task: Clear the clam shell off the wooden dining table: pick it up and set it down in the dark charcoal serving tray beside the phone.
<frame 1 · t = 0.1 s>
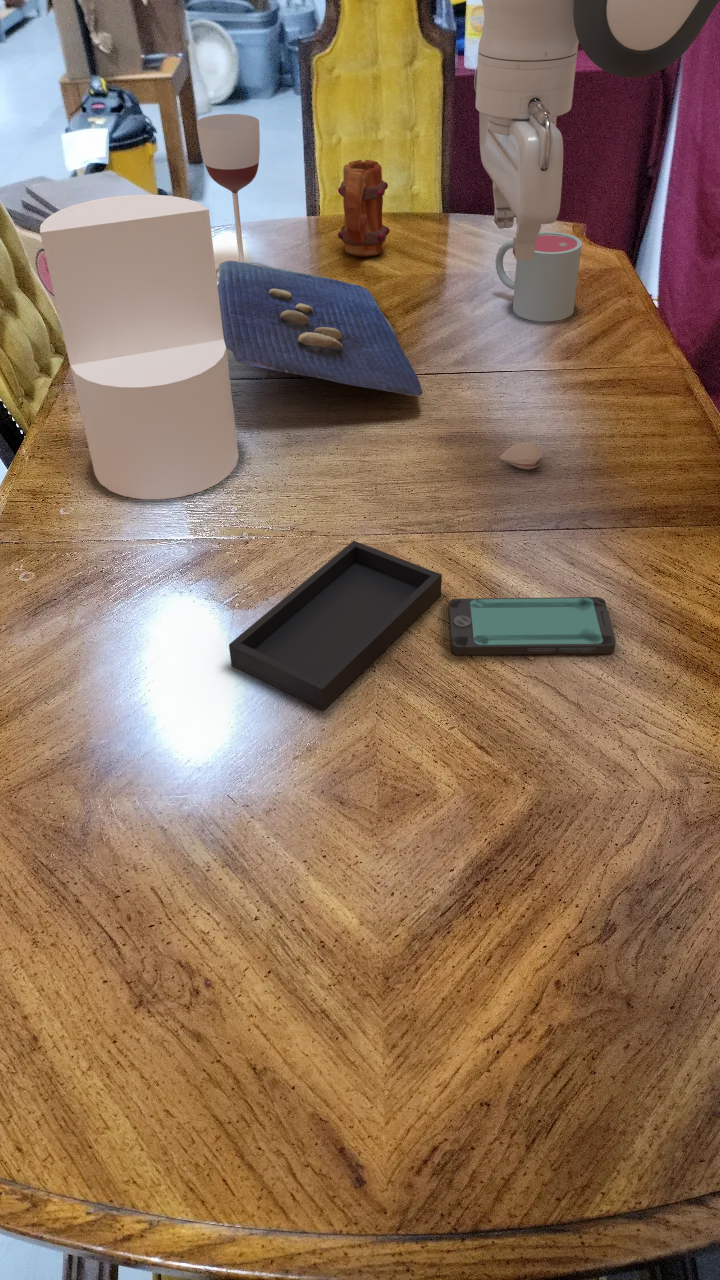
hand: (512, 241, 100), 26 cm above the table, tool pointing down, fingers open, 8 cm apart
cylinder: (167, 462, 120), on the table
mug 2: (530, 306, 153), on the table
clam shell: (519, 466, 117), on the table
tray: (340, 629, 95), on the table
mat: (303, 354, 142), on the table
mug: (361, 259, 170), on the table
smartphone: (529, 632, 94), on the table
wineglass: (242, 274, 166), on the table
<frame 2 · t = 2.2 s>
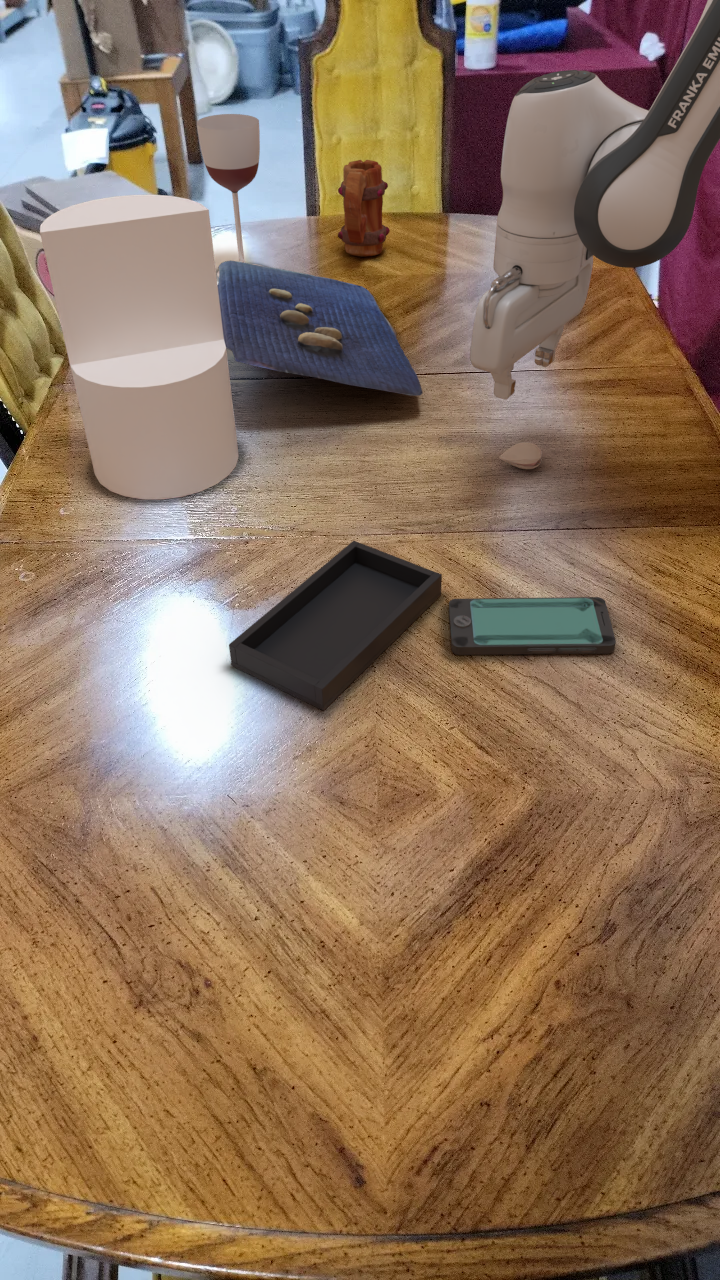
hand: (524, 379, 110), 11 cm above the table, tool pointing down, fingers open, 8 cm apart
nothing on the table moved.
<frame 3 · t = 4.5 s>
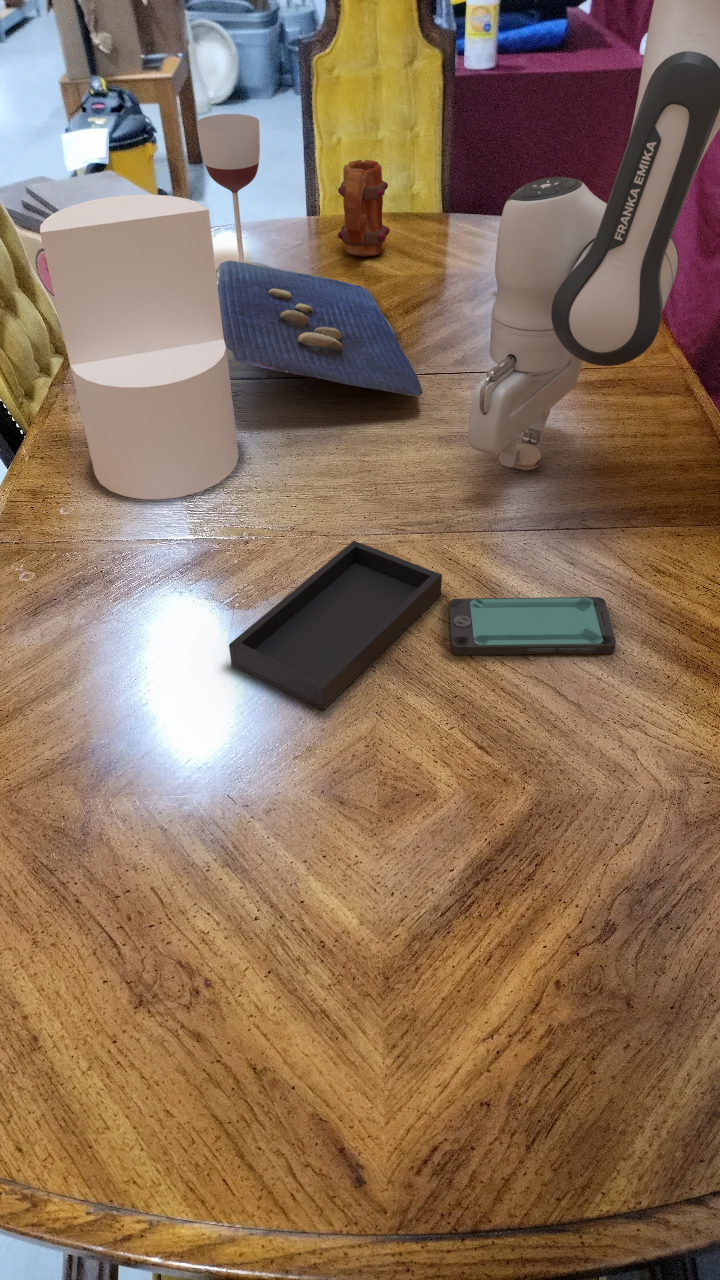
hand: (520, 453, 116), 2 cm above the table, tool pointing down, fingers closed on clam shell, 4 cm apart
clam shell: (517, 467, 117), on the table, touching gripper
everything else where it was.
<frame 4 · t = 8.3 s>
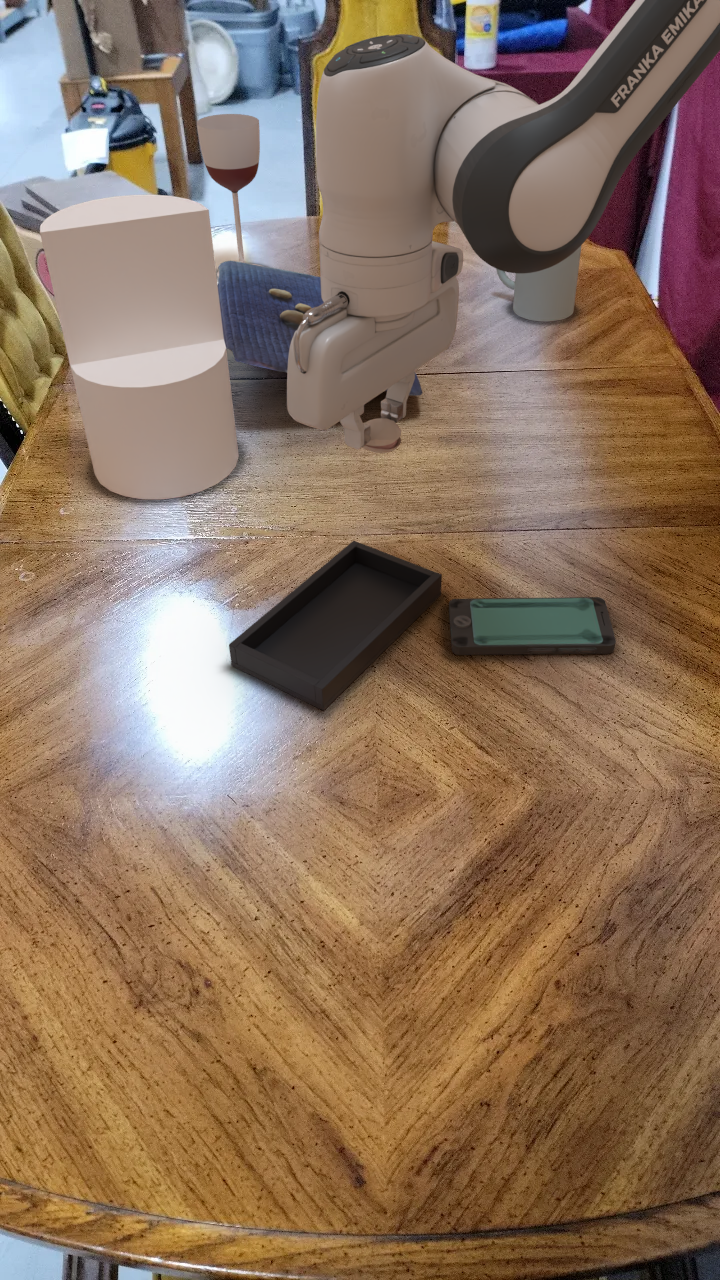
hand: (376, 431, 88), 18 cm above the table, tool pointing down, fingers closed on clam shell, 4 cm apart
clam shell: (373, 450, 89), point 16 cm above the table, touching gripper
everything else where it was.
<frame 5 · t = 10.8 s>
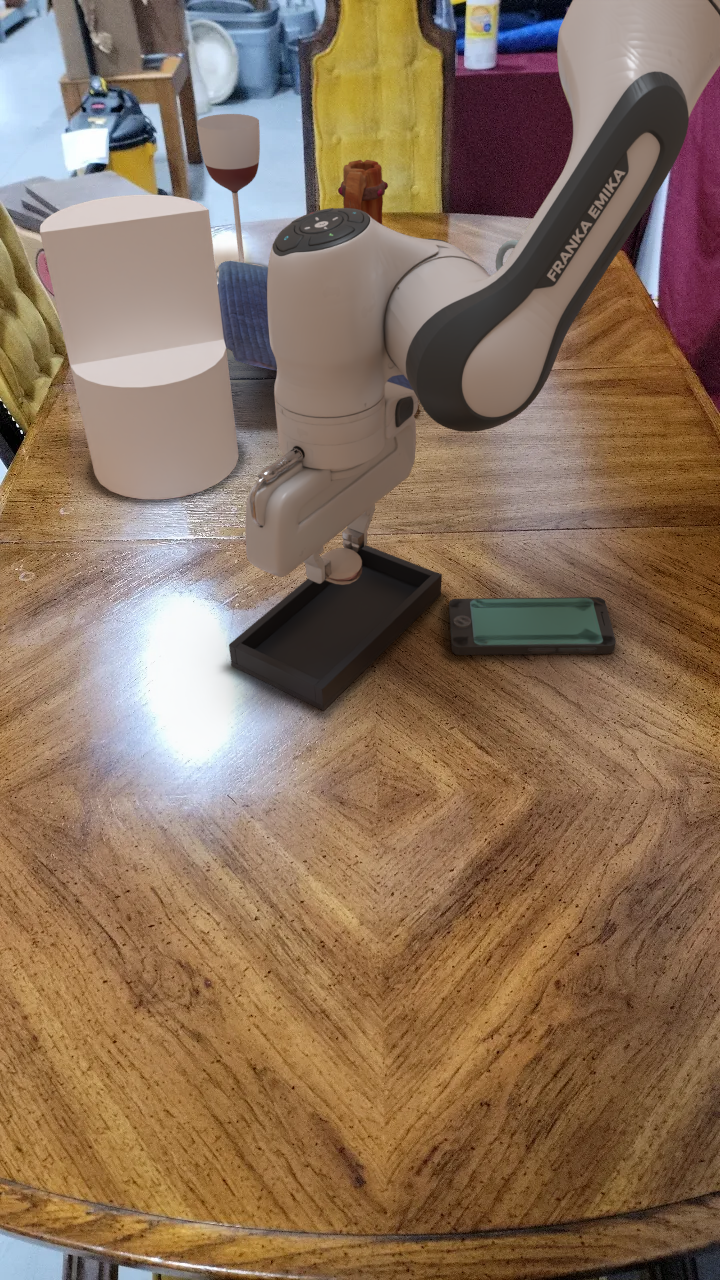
hand: (337, 562, 90), 8 cm above the table, tool pointing down, fingers closed on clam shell, 4 cm apart
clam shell: (335, 579, 91), point 6 cm above the table, touching gripper
everything else where it was.
when the fingers open (2 cm above the table, at t = 12.5 s): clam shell stays where it is, resting on tray.
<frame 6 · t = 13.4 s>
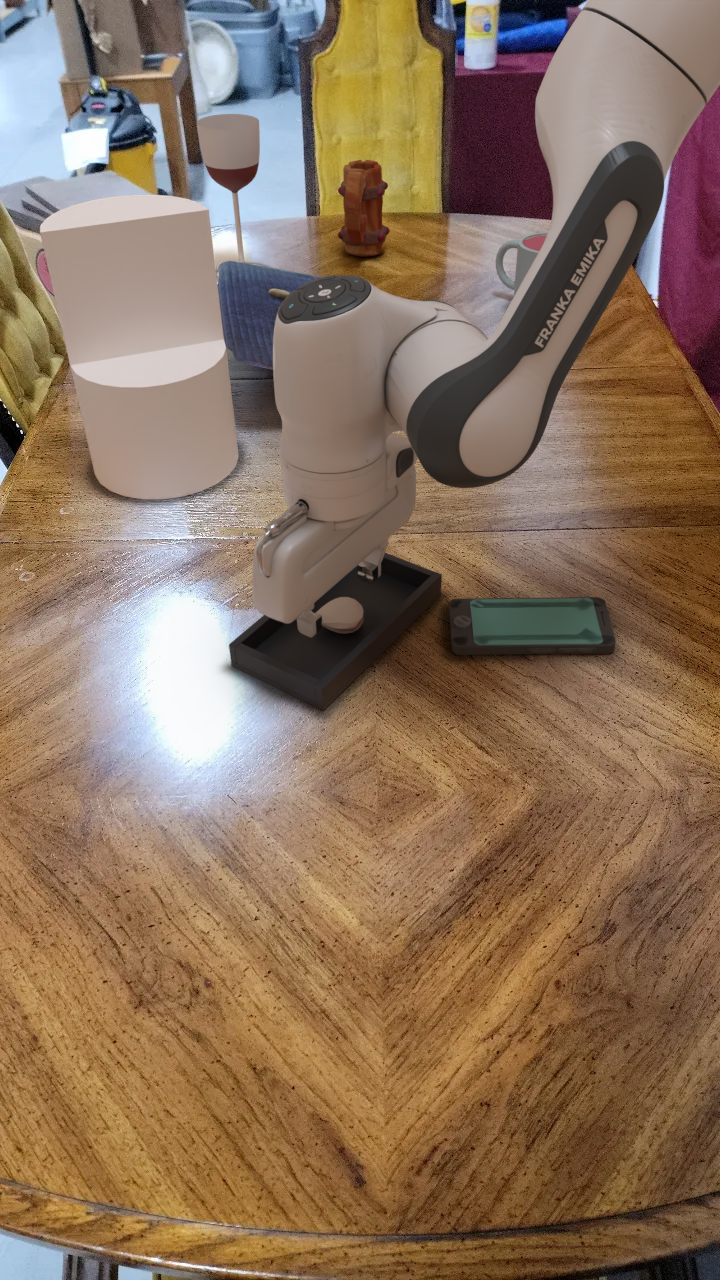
hand: (340, 604, 93), 3 cm above the table, tool pointing down, fingers open, 8 cm apart
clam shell: (337, 627, 94), resting on tray
everything else where it was.
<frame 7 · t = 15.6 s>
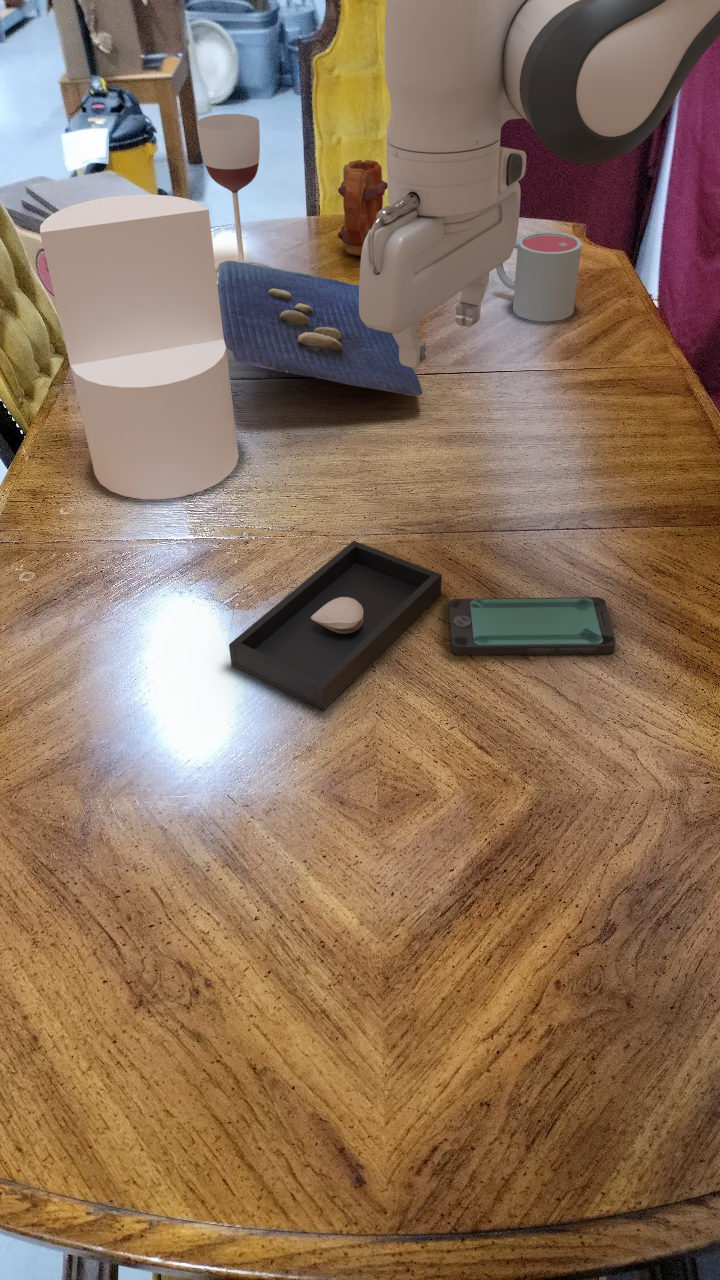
hand: (440, 342, 88), 24 cm above the table, tool pointing down, fingers open, 8 cm apart
nothing on the table moved.
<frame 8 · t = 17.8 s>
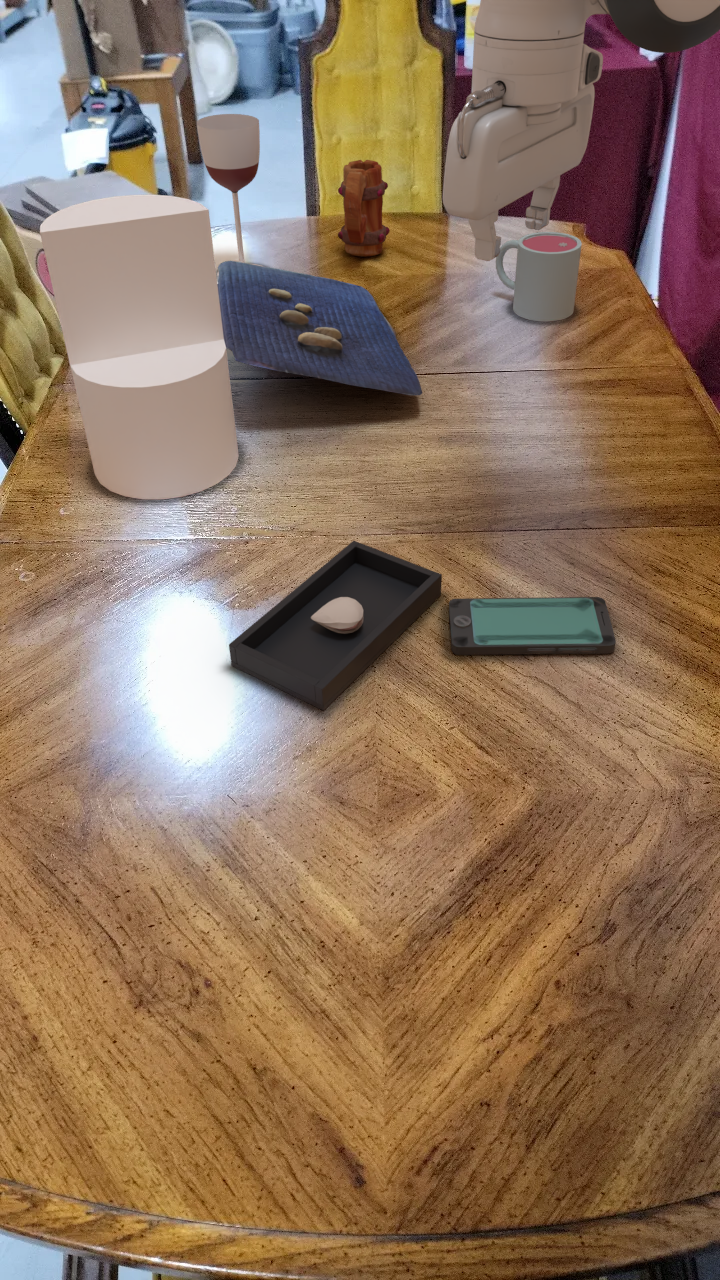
hand: (512, 242, 91), 29 cm above the table, tool pointing down, fingers open, 8 cm apart
nothing on the table moved.
at the end: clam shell inside the target area in the tray (0.3 cm from its centre), point 0.4 cm above the tray's base; the gripper is holding nothing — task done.
